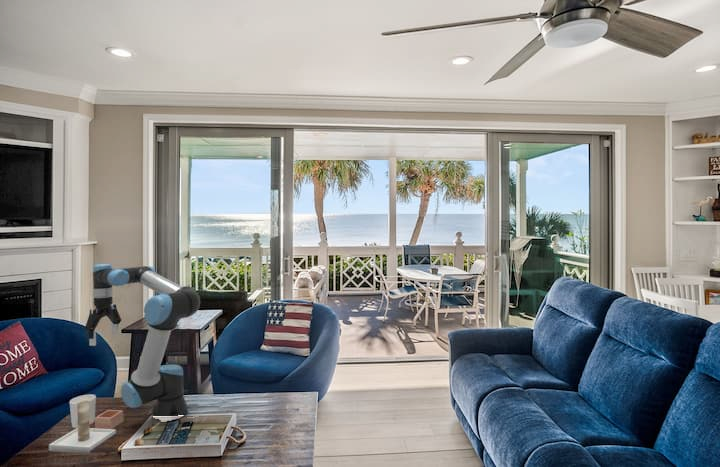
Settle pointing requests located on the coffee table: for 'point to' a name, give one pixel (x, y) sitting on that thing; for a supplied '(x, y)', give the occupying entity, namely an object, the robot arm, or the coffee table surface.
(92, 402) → the candle holder
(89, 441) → the off-white tray
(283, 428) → the coffee table surface
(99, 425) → the terracotta square planter
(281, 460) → the coffee table surface
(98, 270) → the robot arm
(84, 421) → the birch dowel
